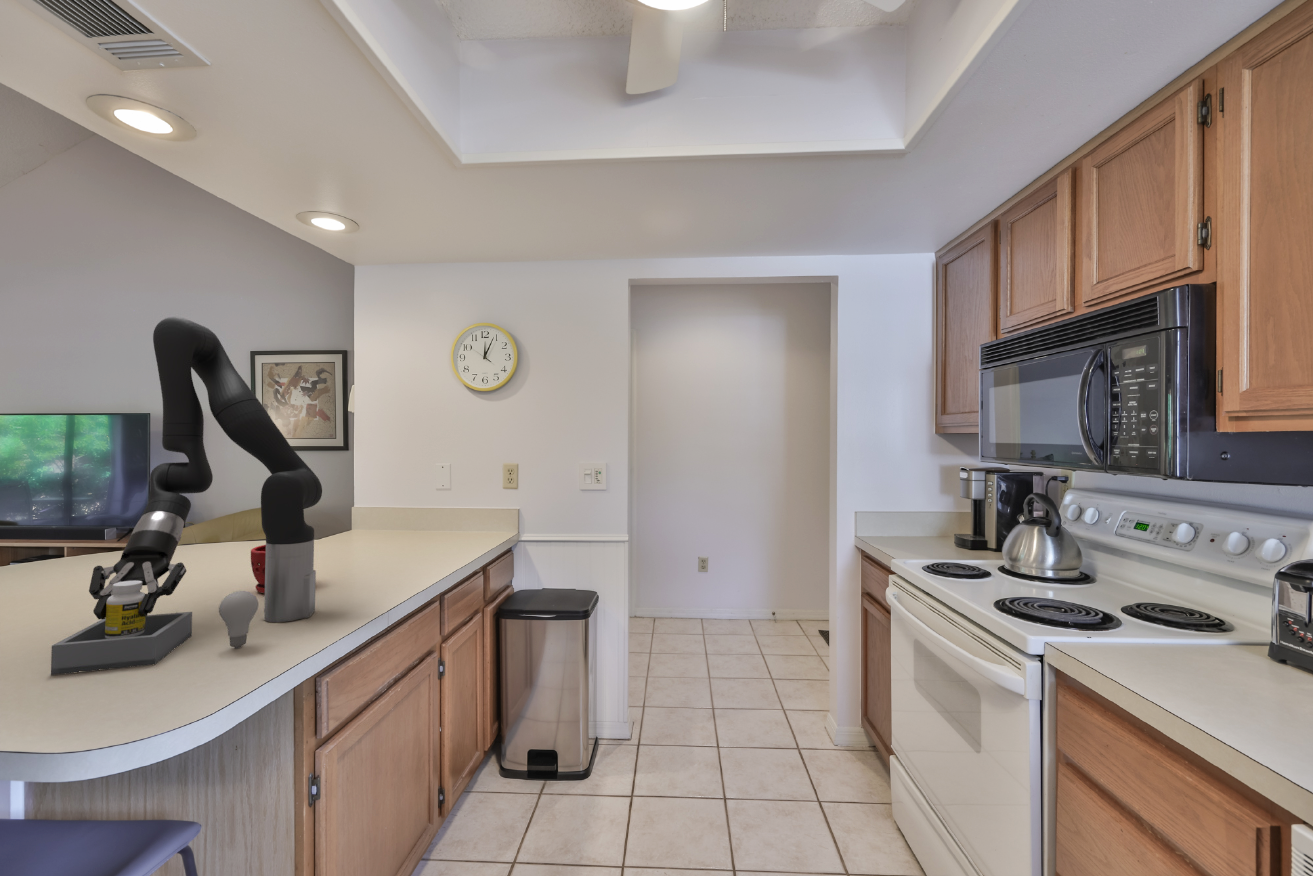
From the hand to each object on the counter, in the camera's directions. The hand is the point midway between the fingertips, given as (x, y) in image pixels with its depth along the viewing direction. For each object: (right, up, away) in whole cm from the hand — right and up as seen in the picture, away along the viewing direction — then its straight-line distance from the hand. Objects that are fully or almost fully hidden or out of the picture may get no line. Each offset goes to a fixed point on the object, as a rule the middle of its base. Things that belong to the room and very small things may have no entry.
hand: (121, 615), depth 100 cm
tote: (-1, -8, +2) cm, 8 cm away
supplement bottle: (-1, -4, +2) cm, 5 cm away
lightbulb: (+17, -8, +5) cm, 20 cm away
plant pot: (-3, -8, +46) cm, 47 cm away
